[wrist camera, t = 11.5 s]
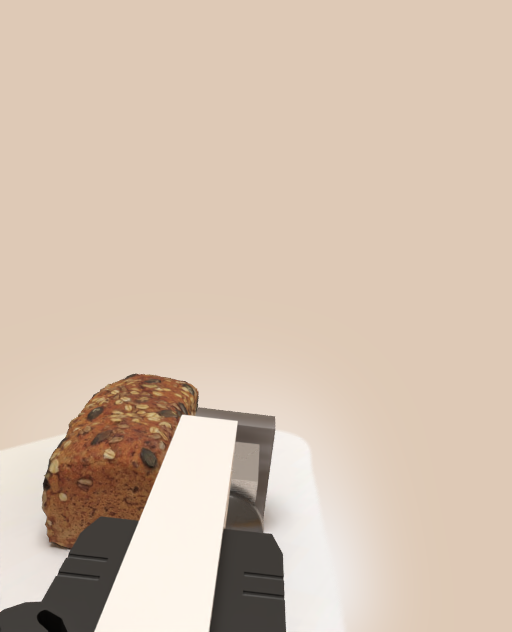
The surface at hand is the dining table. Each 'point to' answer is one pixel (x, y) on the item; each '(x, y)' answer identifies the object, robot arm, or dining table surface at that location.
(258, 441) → the gauge body
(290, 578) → the dining table surface
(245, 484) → the brushed steel block
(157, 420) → the bread
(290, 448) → the dining table surface
